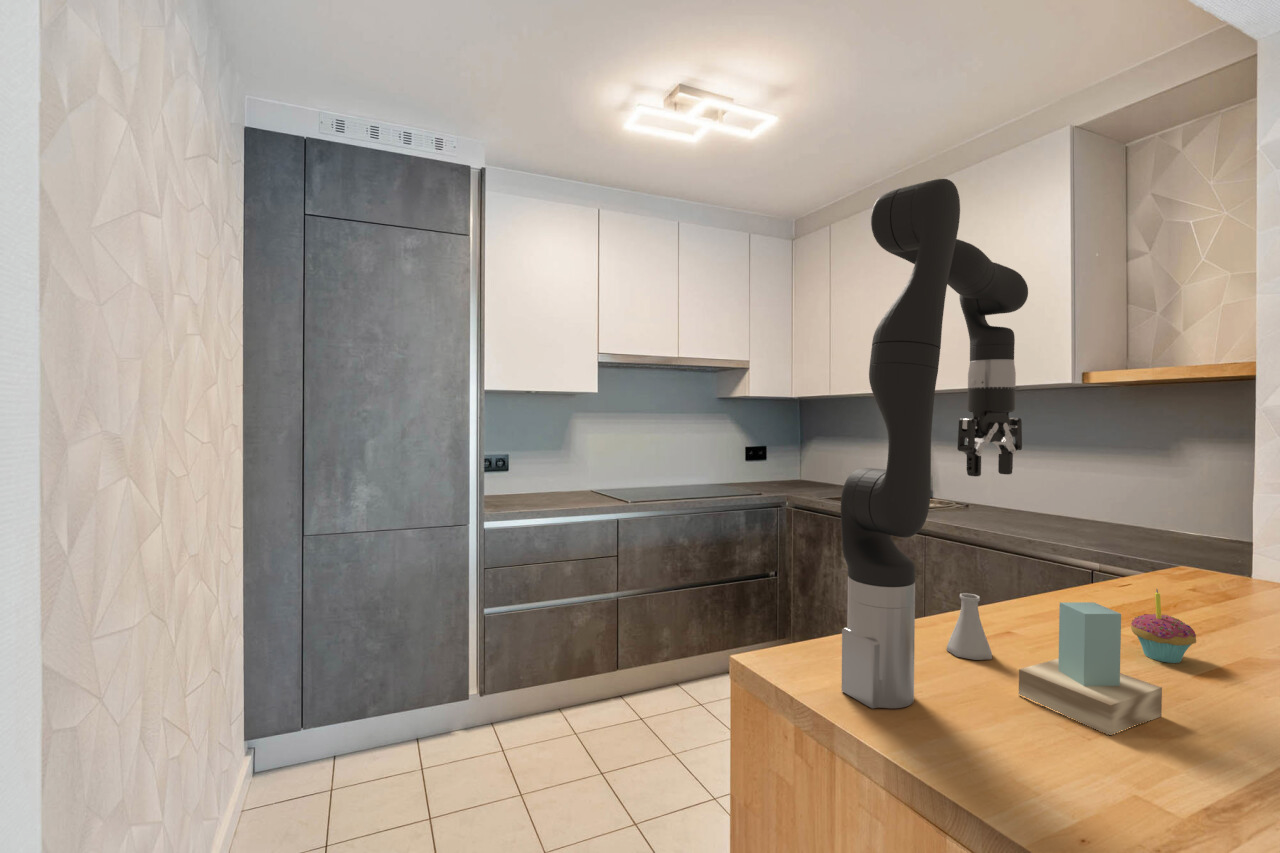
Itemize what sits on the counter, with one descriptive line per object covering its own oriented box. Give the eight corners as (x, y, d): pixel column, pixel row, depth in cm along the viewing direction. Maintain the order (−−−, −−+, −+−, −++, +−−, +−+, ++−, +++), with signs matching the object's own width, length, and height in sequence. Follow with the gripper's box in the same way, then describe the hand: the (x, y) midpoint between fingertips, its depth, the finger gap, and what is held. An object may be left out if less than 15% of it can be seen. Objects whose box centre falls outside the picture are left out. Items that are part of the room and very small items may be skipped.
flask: (999, 663, 101) (1000, 603, 101) (952, 659, 103) (953, 600, 102) (984, 646, 108) (985, 591, 108) (940, 643, 110) (941, 588, 109)
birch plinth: (1110, 736, 78) (1110, 705, 78) (1018, 696, 89) (1019, 669, 89) (1161, 716, 84) (1162, 687, 83) (1068, 681, 94) (1069, 655, 94)
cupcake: (1180, 671, 98) (1182, 597, 98) (1119, 653, 105) (1120, 584, 105) (1205, 661, 102) (1207, 590, 101) (1144, 644, 109) (1145, 577, 109)
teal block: (1119, 685, 84) (1121, 613, 84) (1083, 686, 84) (1085, 613, 84) (1092, 670, 89) (1093, 602, 89) (1058, 670, 89) (1059, 602, 89)
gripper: (984, 384, 104) (982, 479, 105) (1037, 385, 110) (1035, 475, 111) (945, 386, 111) (944, 474, 112) (997, 387, 117) (996, 471, 118)
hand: (989, 475), depth 111 cm, fingers open, 8 cm apart
